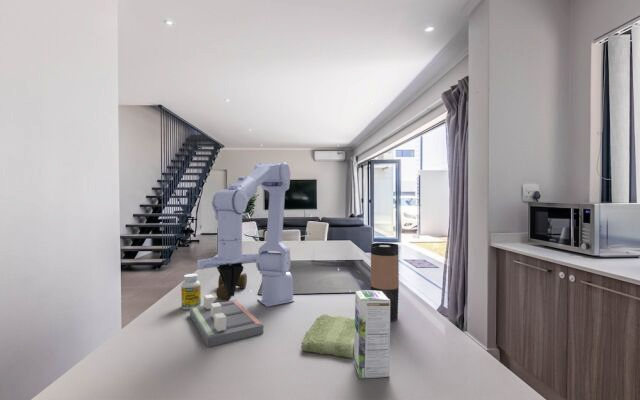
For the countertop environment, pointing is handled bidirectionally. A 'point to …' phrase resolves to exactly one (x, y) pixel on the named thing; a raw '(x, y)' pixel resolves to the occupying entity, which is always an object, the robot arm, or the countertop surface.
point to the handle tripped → (220, 322)
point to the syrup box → (372, 334)
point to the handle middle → (215, 309)
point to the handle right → (208, 301)
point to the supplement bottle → (191, 291)
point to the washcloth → (331, 336)
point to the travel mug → (386, 273)
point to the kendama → (221, 289)
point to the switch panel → (237, 323)
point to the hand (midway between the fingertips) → (230, 295)
